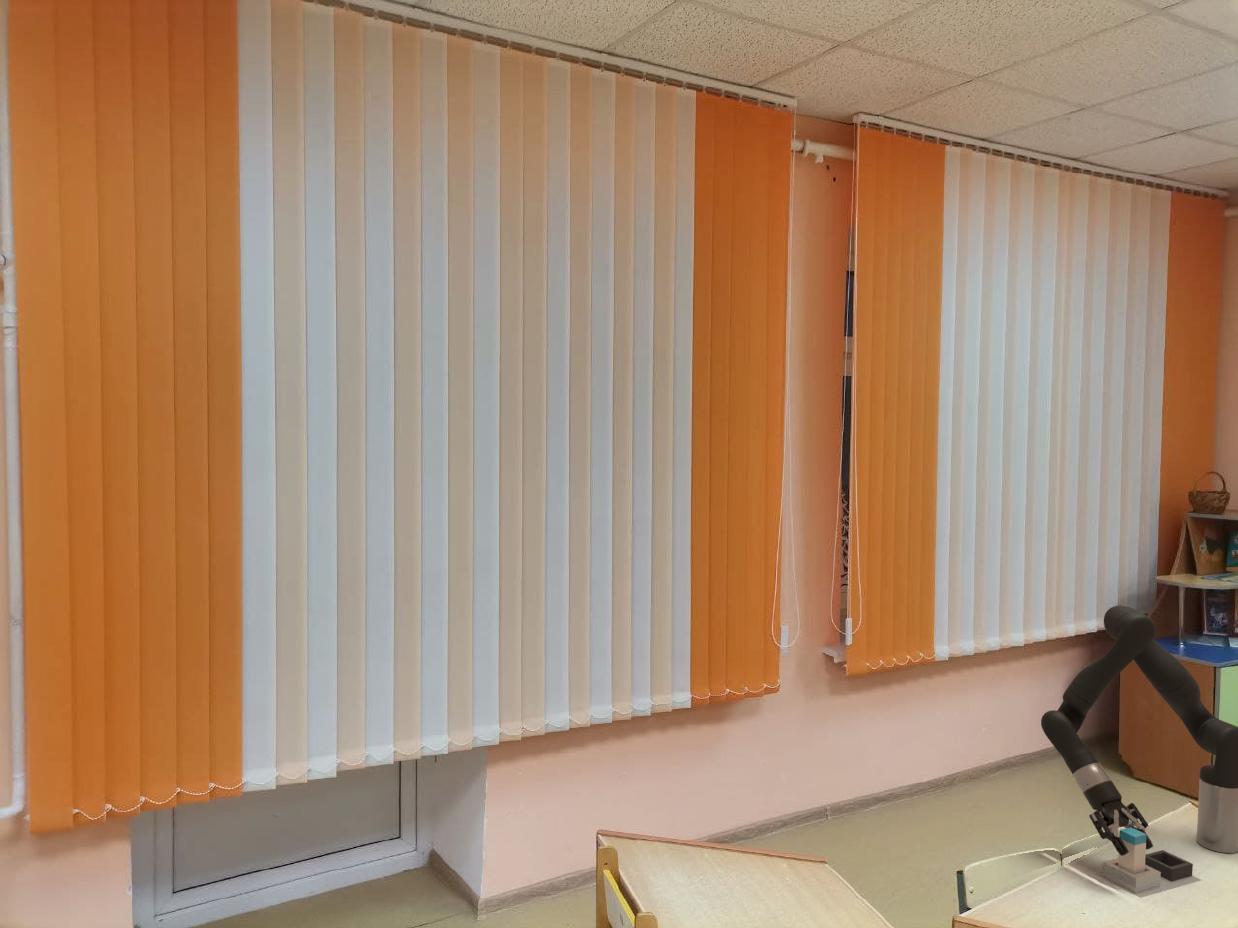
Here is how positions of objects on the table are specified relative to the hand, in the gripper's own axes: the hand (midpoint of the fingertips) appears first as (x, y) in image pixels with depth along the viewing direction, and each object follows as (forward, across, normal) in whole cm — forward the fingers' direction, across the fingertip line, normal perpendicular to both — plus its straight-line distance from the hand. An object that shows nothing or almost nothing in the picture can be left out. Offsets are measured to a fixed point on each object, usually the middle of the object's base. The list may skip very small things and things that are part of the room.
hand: (1137, 851), depth 211 cm
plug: (+5, 0, +7) cm, 8 cm away
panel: (+5, +6, +7) cm, 11 cm away
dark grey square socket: (+5, +13, +7) cm, 16 cm away
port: (+5, 0, +7) cm, 9 cm away
